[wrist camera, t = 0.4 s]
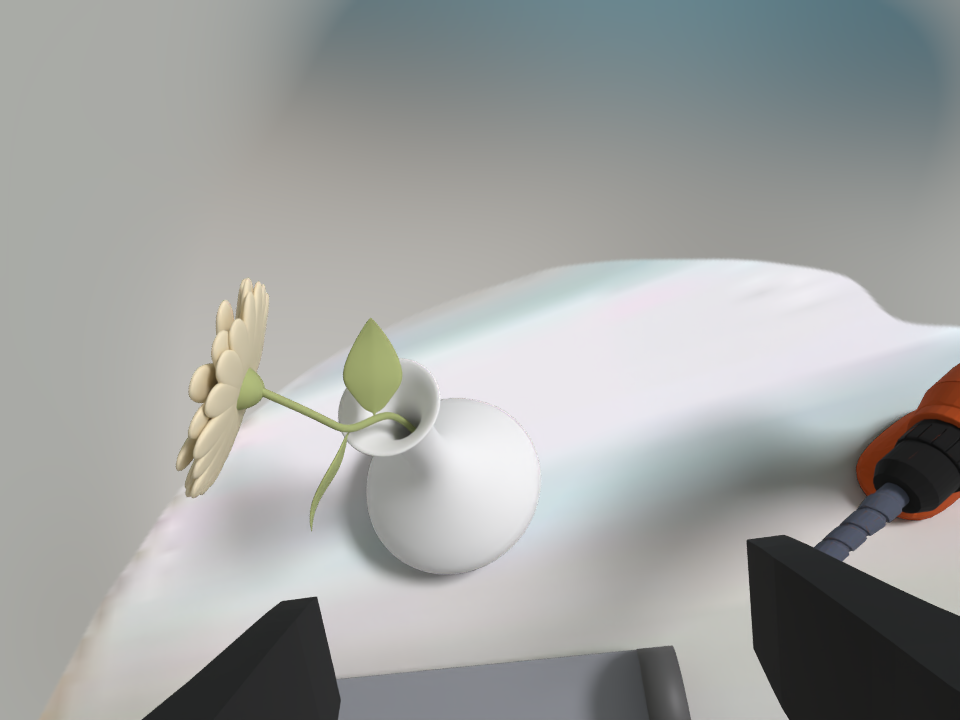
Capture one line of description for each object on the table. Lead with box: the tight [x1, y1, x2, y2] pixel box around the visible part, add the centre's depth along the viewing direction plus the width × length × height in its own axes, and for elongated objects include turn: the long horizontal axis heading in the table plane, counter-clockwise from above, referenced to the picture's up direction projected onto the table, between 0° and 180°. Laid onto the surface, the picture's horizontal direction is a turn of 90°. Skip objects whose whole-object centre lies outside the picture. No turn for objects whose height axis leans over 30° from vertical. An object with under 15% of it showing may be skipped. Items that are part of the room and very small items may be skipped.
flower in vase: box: [176, 278, 541, 575], centre depth 30 cm, size 13×11×25 cm
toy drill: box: [814, 363, 960, 561], centre depth 29 cm, size 5×19×15 cm, turn 126°
